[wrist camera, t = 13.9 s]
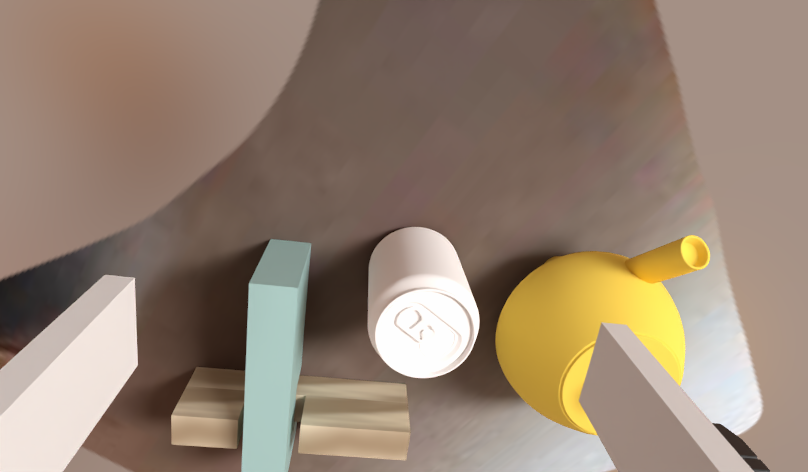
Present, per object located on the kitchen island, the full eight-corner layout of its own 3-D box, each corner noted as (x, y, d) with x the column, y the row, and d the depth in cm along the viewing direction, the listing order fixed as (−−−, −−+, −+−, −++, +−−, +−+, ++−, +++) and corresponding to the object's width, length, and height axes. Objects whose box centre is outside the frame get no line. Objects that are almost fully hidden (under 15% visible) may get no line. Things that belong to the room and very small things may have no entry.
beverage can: (409, 322, 51) (420, 403, 40) (349, 264, 49) (343, 333, 38) (476, 268, 50) (506, 337, 39) (417, 205, 47) (431, 259, 36)
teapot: (565, 163, 47) (639, 213, 34) (709, 234, 50) (826, 304, 37) (458, 349, 53) (486, 451, 40) (593, 402, 56) (659, 512, 43)
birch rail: (196, 366, 52) (171, 415, 45) (405, 383, 54) (410, 432, 47) (196, 393, 53) (171, 444, 46) (401, 409, 55) (405, 460, 48)
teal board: (270, 239, 48) (248, 283, 39) (311, 243, 48) (298, 287, 40) (260, 425, 55) (240, 497, 46) (296, 428, 55) (282, 500, 46)
